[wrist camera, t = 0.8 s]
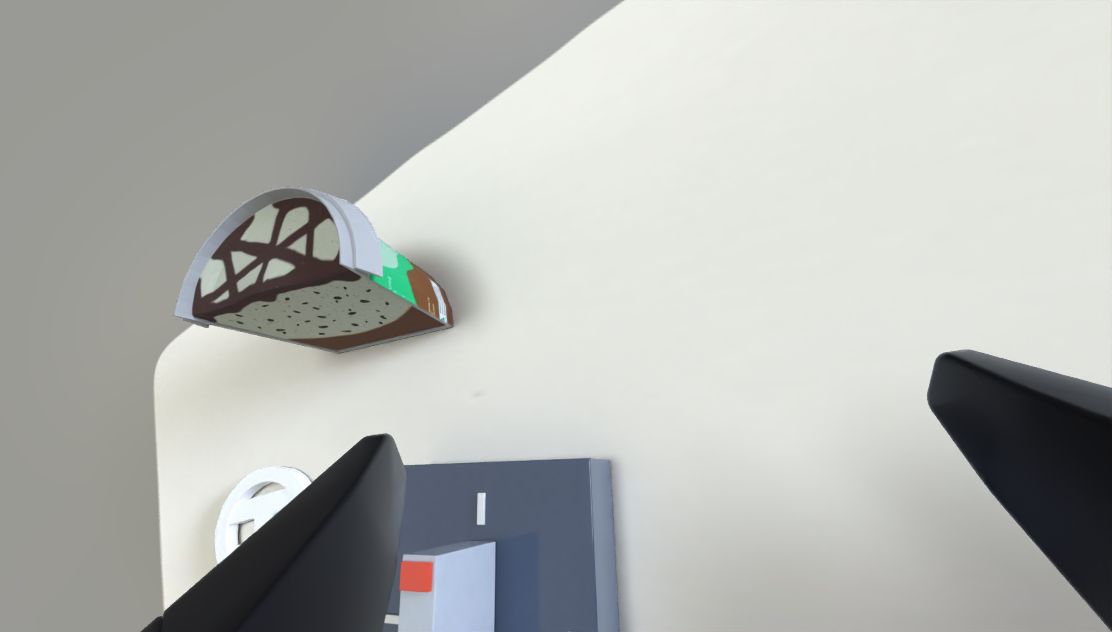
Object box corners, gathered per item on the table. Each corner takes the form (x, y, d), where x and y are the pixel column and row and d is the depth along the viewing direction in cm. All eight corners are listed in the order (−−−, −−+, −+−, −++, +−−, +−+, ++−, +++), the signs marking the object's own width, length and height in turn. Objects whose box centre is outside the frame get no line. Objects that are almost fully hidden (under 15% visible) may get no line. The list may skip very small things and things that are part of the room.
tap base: (632, 815, 20) (609, 869, 18) (410, 763, 24) (363, 800, 22) (612, 459, 25) (591, 457, 22) (426, 466, 29) (388, 465, 26)
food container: (471, 233, 32) (357, 143, 24) (474, 322, 30) (350, 260, 21) (328, 276, 37) (186, 214, 28) (321, 357, 35) (166, 317, 26)
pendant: (229, 482, 34) (217, 482, 34) (351, 443, 31) (341, 442, 30) (223, 596, 32) (211, 599, 31) (357, 567, 29) (346, 570, 28)
